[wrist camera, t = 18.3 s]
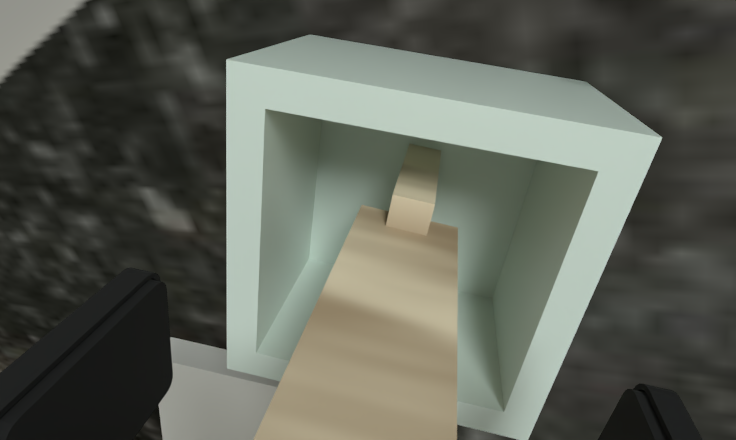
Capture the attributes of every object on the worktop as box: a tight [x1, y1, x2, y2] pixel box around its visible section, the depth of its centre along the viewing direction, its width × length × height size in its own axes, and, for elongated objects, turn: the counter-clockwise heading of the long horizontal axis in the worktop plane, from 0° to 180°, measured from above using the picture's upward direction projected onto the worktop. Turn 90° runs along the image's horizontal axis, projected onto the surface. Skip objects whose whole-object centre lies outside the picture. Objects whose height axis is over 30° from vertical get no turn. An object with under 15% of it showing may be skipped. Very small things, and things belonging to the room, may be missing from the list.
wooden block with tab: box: [253, 144, 458, 440], centre depth 12 cm, size 5×3×14 cm, turn 170°
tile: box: [159, 337, 280, 440], centre depth 26 cm, size 8×2×10 cm
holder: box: [226, 35, 662, 440], centre depth 16 cm, size 10×10×7 cm
